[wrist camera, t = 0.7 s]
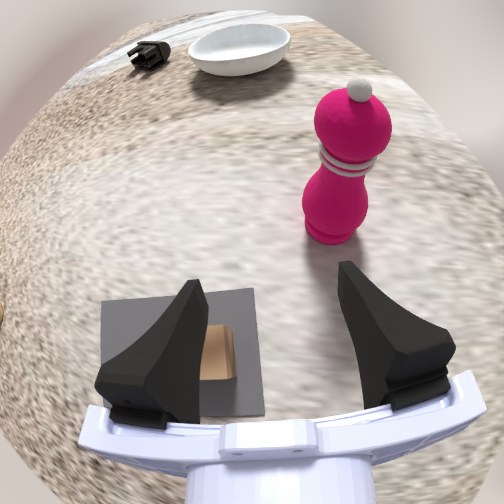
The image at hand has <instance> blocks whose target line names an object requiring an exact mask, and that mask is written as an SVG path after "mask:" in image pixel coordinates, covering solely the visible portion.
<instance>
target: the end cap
mask: <svg viewBox="0 0 504 504" xmlns="http://www.w3.org/2000/svg"><path fill="white" fill-rule="evenodd" d="M137 44H138V46H137V47H135V48H133V49H132V50H130V51H129V52H127V54H128V56H129V57H131V56H132V55H134V54H135V53H138V56H137V57H135V58H134V59H132V60H131V63H132V65H134V66H135V69H140V70H147V71H154V70H155V69H157V68H158V67H160V66H161V65H163V64H164V63H165V62H166V61H167V59H168V57H169V56H170V52H171V49H170V46H169V44H168V43H166V42H158V41H141V42H138V43H137Z"/></svg>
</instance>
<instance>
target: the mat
mask: <svg viewBox="0 0 504 504" xmlns="http://www.w3.org/2000/svg"><path fill="white" fill-rule="evenodd" d="M204 295H205V298H206V300H207V303H208V306H209V314H208V326H209V325H222V324H224V325H225V326H227V327H229V328H230V329H232V330H234V343H235V355H236V367H237V376H235V377H232V378H229V379H215V380H200V388H199V412H200V416H245V415H263V414H265V409H264V398H263V388H262V377H261V366H260V355H259V344H258V333H257V322H256V312H255V301H254V290H253V288H246V289H237V290H227V291H218V292H208V293H204ZM176 296H177V295H176ZM176 296H164V297H152V298H138V299H124V300H109V301H102V305H101V365H102V364H103V363H105V362H107V361H109V360H110V359H112V358H113V357H115V356H117V355H118V354H120V353H121V352H122V351H124V350H125V349H127V348H128V347H129V346H131V345H132V344H133V343H134V342H135V341H136V340H138V339H139V338H140V337H141V336H142V335H143V334H144V333H145V332H146V331H147V330H148V329H149V328H150V327H151V326H152V325H153V324H154V323H155V322H156V321H157V320H158V319H159V318H160V316H161V315H162V314H163V313H164V311H165V310H166V309H167V308H168V306H169V305H170V304H171V302H172V301H173V300H174V298H175V297H176ZM103 403H104V407H109V408H112V405H111V404H110V403H109V402H108V401H107V400H106V399H104V398H103Z"/></svg>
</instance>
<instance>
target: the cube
mask: <svg viewBox="0 0 504 504" xmlns="http://www.w3.org/2000/svg"><path fill="white" fill-rule="evenodd" d="M235 376H237V367H236V355H235V343H234V330H232V329H230V328H229V327H227V326H225V325H224V324H222V325H209V326H207V331H206V337H205V342H204V348H203V353H202V358H201V367H200V380H215V379H229V378H232V377H235Z"/></svg>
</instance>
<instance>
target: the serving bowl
mask: <svg viewBox="0 0 504 504" xmlns="http://www.w3.org/2000/svg"><path fill="white" fill-rule="evenodd" d="M290 39H291V37H290V34H289V33H288V31H286V30H285V29H283V28H281V27H278V26H275V25H270V24H260V23H250V24H239V25H233V26H228V27H224V28H221V29H218V30H215V31H212V32H210V33H208V34H205V35H204V36H202V37H200V38H199V39H197V40H196V41H195V42H193V43H192V44H191V46H190V47H189V50H188V54H189V56H190V58H191V60H192V61H193V62H194V64H195V65H196V66H197V67H198V68H200V69H201V70H203V71H205V72H208V73H210V74H214V75H220V76H240V75H247V74H252V73H256V72H259V71H262V70H265V69H267V68H269V67H271V66H273V65H275V64H276V63H278V62H279V61H280V60H281V59H282V58H283V57H284V56H285V55H286V53H287V51H288V49H289V46H290Z"/></svg>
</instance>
